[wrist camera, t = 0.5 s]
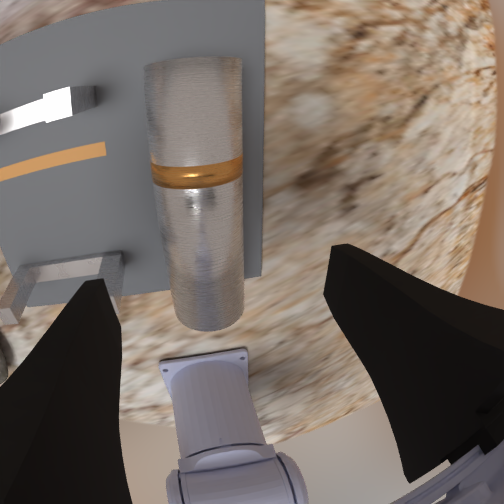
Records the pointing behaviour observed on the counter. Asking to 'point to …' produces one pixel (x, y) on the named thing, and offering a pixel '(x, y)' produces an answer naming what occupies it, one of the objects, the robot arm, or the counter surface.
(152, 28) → the board
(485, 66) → the counter surface
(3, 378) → the stone
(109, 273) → the collar
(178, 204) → the tube
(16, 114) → the collar
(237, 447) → the robot arm
